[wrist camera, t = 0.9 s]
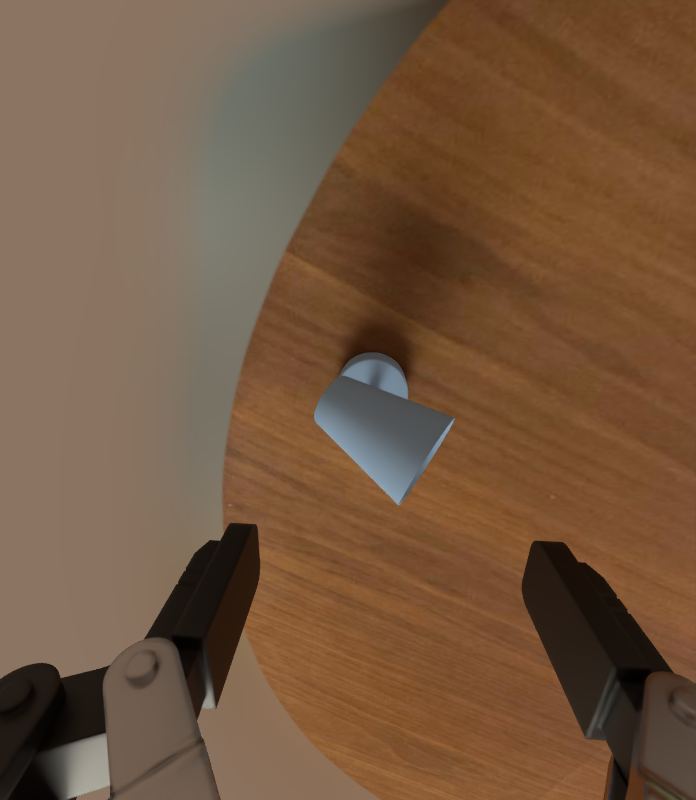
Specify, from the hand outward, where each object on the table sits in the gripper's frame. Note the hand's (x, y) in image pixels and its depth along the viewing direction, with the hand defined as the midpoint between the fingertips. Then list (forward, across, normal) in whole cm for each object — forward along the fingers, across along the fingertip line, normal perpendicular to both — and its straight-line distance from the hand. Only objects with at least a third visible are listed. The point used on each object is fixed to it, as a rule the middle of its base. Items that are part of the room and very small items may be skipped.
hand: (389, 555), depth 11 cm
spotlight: (+15, 0, 0) cm, 15 cm away
